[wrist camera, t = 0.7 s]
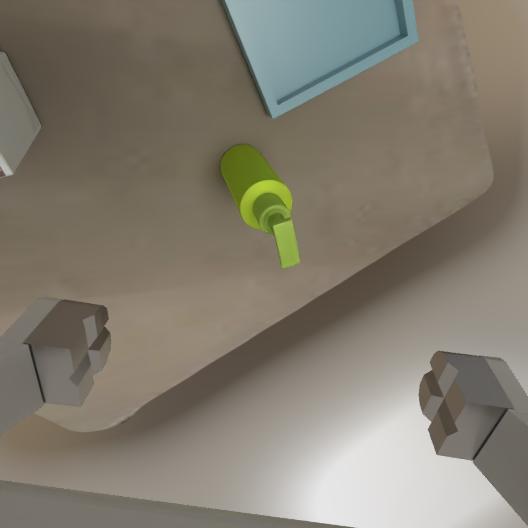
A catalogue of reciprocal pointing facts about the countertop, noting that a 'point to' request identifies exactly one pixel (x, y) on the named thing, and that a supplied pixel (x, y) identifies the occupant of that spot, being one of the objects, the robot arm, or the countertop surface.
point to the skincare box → (14, 120)
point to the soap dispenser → (261, 198)
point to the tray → (315, 43)
